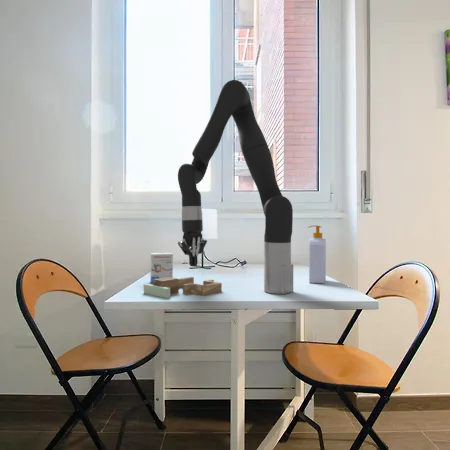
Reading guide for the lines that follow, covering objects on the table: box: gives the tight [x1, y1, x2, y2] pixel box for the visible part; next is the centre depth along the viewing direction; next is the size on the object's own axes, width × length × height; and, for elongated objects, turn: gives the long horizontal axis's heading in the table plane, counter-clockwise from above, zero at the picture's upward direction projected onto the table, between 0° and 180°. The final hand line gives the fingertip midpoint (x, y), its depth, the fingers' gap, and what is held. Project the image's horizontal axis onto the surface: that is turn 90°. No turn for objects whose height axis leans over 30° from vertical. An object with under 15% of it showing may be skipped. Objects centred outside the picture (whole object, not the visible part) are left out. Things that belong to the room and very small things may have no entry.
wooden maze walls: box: [178, 276, 223, 296], centre depth 125 cm, size 18×14×3 cm
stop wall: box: [143, 283, 171, 299], centre depth 116 cm, size 12×2×3 cm, turn 49°
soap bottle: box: [307, 225, 327, 285], centre depth 143 cm, size 9×7×23 cm
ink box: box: [150, 252, 174, 284], centre depth 142 cm, size 9×5×12 cm, turn 105°
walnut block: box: [152, 277, 180, 295], centre depth 120 cm, size 5×7×5 cm
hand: (193, 266), depth 129 cm, fingers closed
